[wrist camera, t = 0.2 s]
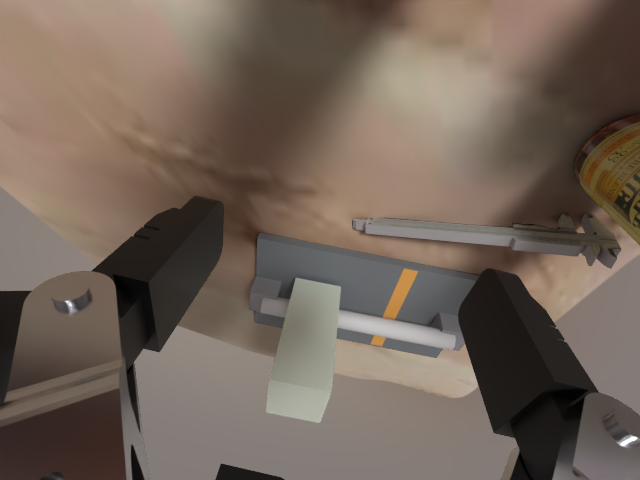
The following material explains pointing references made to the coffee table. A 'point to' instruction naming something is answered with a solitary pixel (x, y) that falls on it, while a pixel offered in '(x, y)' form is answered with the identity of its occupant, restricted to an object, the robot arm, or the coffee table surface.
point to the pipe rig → (365, 294)
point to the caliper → (510, 235)
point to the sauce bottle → (614, 172)
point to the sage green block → (305, 352)
